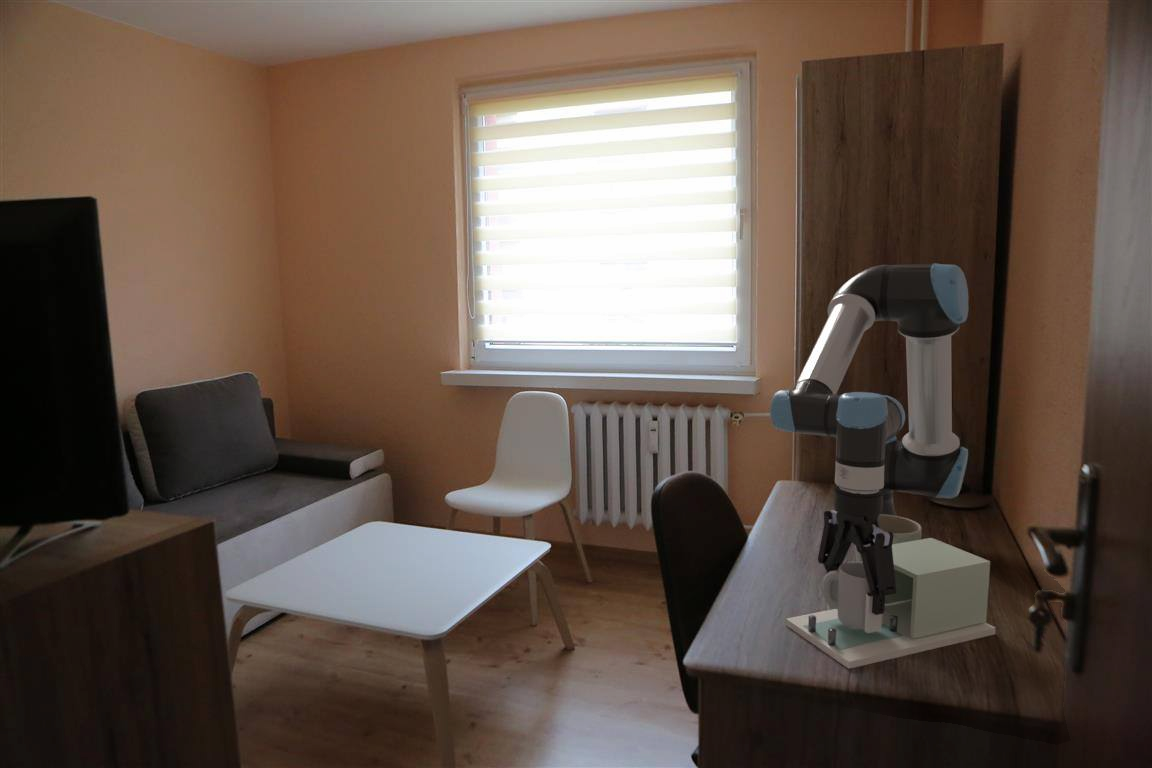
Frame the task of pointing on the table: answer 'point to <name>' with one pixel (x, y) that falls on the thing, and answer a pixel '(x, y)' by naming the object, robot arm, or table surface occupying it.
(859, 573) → the cup
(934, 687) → the table surface
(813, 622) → the pins
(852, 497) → the robot arm
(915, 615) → the hood
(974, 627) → the board
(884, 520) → the planter
